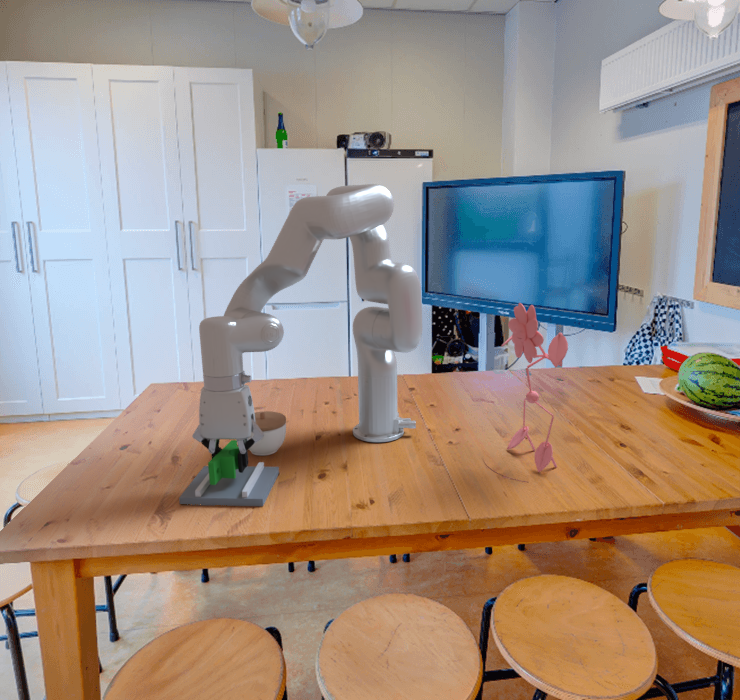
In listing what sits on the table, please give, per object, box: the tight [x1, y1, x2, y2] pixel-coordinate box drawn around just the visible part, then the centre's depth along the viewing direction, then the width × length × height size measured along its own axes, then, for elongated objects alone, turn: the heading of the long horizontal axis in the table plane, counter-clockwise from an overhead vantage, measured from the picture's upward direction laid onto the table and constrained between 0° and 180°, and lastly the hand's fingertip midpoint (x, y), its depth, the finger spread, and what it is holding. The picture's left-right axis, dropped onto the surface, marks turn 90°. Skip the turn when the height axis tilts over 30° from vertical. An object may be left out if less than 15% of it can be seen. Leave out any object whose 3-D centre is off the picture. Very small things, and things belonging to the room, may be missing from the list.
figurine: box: [483, 302, 569, 483], centre depth 121 cm, size 15×26×35 cm, turn 13°
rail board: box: [178, 461, 280, 507], centre depth 115 cm, size 16×14×3 cm
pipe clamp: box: [207, 439, 239, 485], centre depth 113 cm, size 11×4×5 cm, turn 170°
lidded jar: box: [248, 411, 287, 457], centre depth 132 cm, size 11×11×9 cm
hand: (230, 468), depth 114 cm, fingers closed on pipe clamp, 4 cm apart
